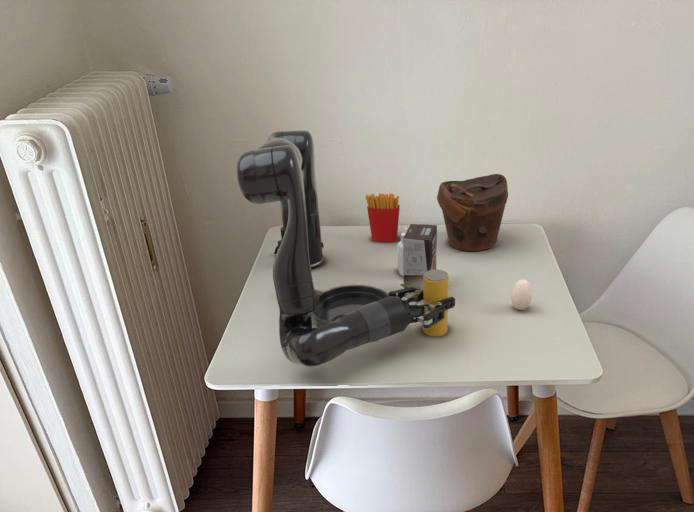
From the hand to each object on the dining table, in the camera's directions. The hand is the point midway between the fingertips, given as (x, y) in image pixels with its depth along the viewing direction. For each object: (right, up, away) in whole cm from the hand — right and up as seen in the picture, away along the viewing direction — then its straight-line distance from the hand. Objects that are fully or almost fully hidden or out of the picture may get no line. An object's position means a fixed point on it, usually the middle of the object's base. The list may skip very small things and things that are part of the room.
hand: (445, 295), depth 139 cm
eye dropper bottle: (-9, +8, +26) cm, 28 cm away
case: (+9, +18, +41) cm, 46 cm away
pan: (-20, -4, +8) cm, 22 cm away
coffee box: (-5, +2, +16) cm, 17 cm away
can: (-2, -7, +3) cm, 8 cm away
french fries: (-15, +20, +44) cm, 51 cm away
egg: (+18, -2, +10) cm, 21 cm away
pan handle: (-32, +2, +14) cm, 35 cm away
